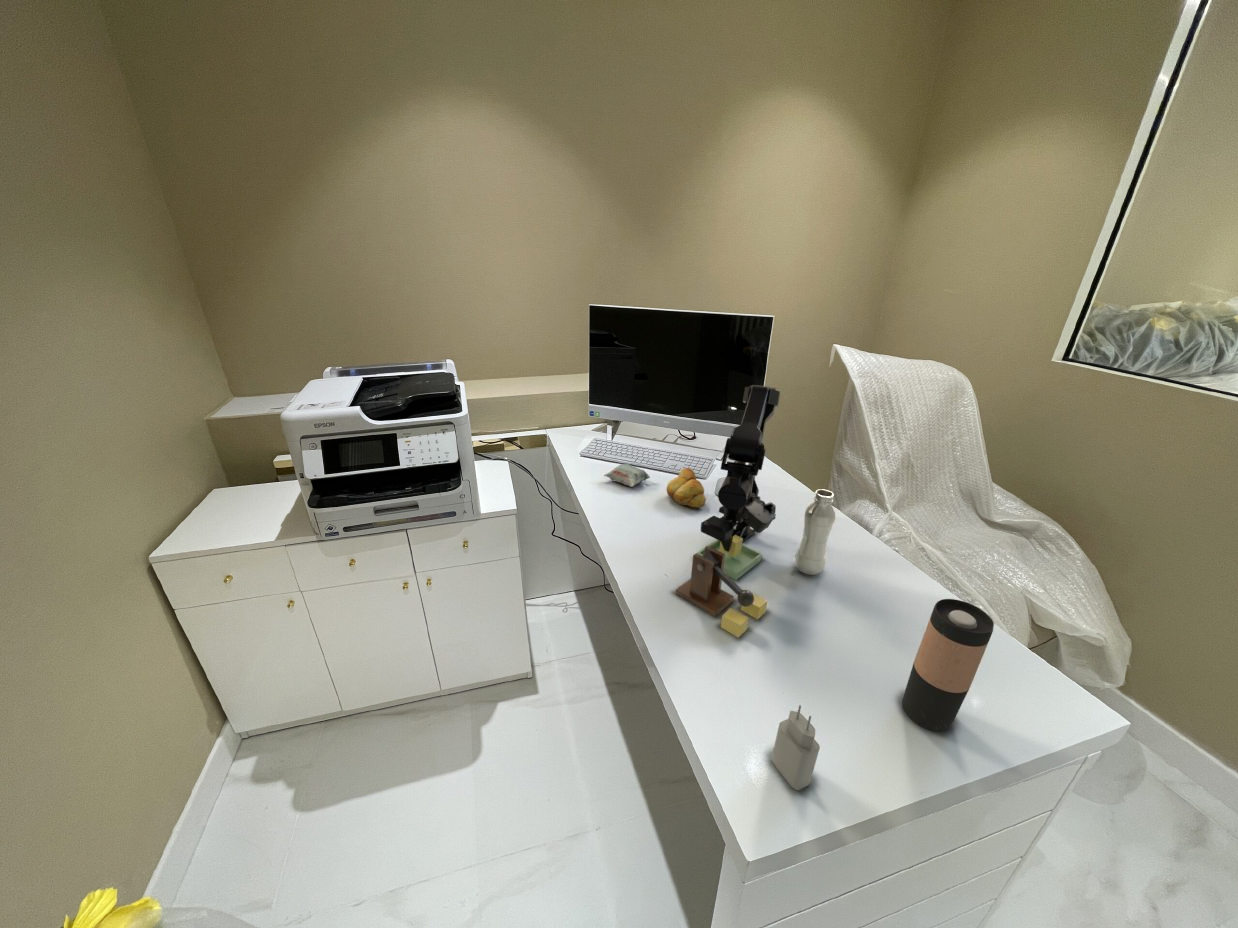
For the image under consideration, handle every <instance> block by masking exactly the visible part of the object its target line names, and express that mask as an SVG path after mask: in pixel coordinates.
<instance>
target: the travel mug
mask: <svg viewBox="0 0 1238 928" xmlns="http://www.w3.org/2000/svg"><path fill="white" fill-rule="evenodd" d="M994 626H995V623H994V619H992V617H991V616H990V615H989V614H988V613H986V611H984V610H982V609H981V608H980V607H977V606H976V605H974V604H971V603H970V602H966V601H964V600H960V599H955V598H943V599H940V600H938V601H936V603H935V604H934V606H933V608H932V612H931V614H930V617H929V620H928V623H927V625H926V627H925V631H924V633H923V637H922V639H921V641H920V643H919V647H918V649H917V652H916V654H915V658H914V660H913V664H912V667H911V670H910V673H909V677H908V679H907V683H906V686H905V690H904V693H903V697H902V701H901V703H902V709H903V711H904V713H905V714H906V715H907V717H908V718H909V719H910V720H912V722H913V723H915V724H916V725H918V726H920V727H922V728H924V729H926V730H929V731H932V732H945V731H947V730H948V729H950V728H951V727H952V725H953V723H954V721H955V719H956V717H957V715H958V713H959V711H960V709H961V707H962V705H963V703H964V701H965V699H966V697H967V695H968V692H969V690H970V688H971V686H972V684H973V682H974V678H975V676H976V674H977V671H978V668H979V667H980V664H981V662H982V659H983V657H984V654H985V652H986V650H987V648H988V645H989V642H990V641H991V637H992V635H993V633H994Z"/></svg>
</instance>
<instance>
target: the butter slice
mask: <svg viewBox="0 0 1238 928" xmlns="http://www.w3.org/2000/svg"><path fill="white" fill-rule="evenodd" d="M742 541H743V538H741V537H739V536H737V535H735V536H734V537H733V540H732V544H731V547H730V550H729V552H727V551H725V550H724V548H723V546H722V543H721V542H720V550H719V551H721V552H723V553H725V554H727V555H729V556H731V557H733V558H734V557H735V556H737V555H738V554H740V553H741V548H742V545H743V542H744V541H743V542H742Z"/></svg>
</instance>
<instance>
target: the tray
mask: <svg viewBox="0 0 1238 928" xmlns="http://www.w3.org/2000/svg"><path fill="white" fill-rule="evenodd" d="M720 542H721V541H719V540H717V539H715V540H714V541H713V542H711V543H710V544H708V545H707V546H709V547H712V548H714V549H716V550H718V551H719V550H720ZM704 551H705V547H704V548H702V549H701V550H699V551H698V552H696V553H697V554H699V555H701V556H703V555H704ZM720 552H721V551H720ZM722 553H723V552H722ZM724 554H725V553H724ZM762 559H763V553H761V552H759V551H757V550H755V549H752V548H751V547H748V546H746V545H744V544H742V548H741V553H740V554H738V555H737V556H735V557H734V558H733V557H731V556H729V555H727V554H725V561H724V568H723V572H724V573H725V574H726V575H727V576H729V577H730V578H731V579H732V580H735V581H738V580H739V578H741V577H742V576H743V575H745V574H746V573H747V572H749V571H750V570H751V569H752V568H754V567H755V566H756V565H758V564H759V563H760V562H761V561H762Z"/></svg>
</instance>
